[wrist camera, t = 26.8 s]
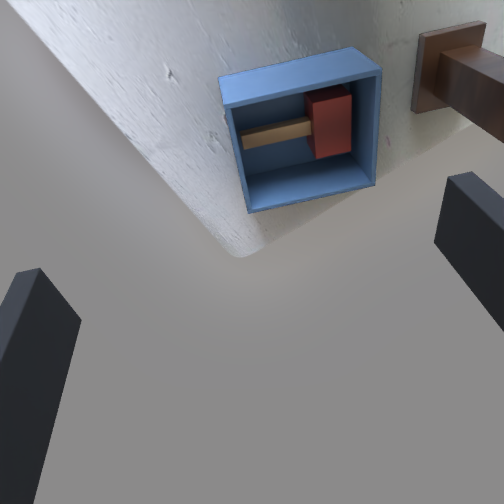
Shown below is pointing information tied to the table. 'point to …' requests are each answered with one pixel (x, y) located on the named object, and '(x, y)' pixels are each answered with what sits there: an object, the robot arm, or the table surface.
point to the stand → (460, 76)
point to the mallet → (312, 124)
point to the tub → (297, 150)
